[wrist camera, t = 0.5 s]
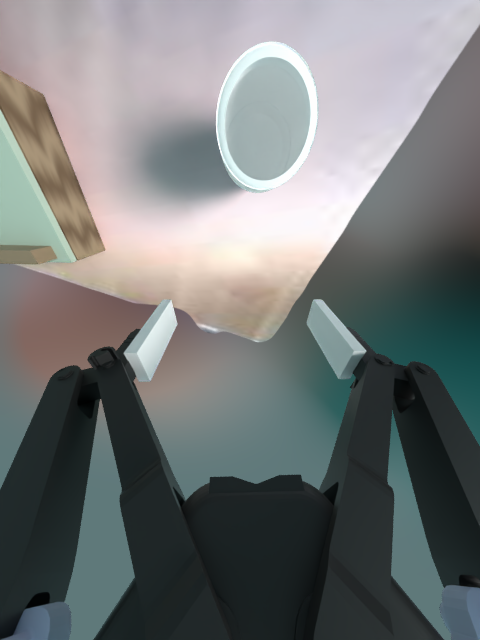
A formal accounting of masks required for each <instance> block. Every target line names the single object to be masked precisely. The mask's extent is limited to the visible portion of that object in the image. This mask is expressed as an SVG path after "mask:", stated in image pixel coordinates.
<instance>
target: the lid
mask: <svg viewBox="0 0 480 640" xmlns="http://www.w3.org/2000/svg"><path fill="white" fill-rule="evenodd" d="M75 261H77V260H76V258H75V256H74V254H73V252H72V250H71V248H70V246H69V244H68V242H67V240H66V238H65V236H64V234H63V232H62V230H61V228H60V226H59V224H58V222H57V220H56V218H55V216H54V214H53V212H52V210H51V208H50V206H49V205H48V203H47V201H46V199H45V197H44V195H43V193H42V191H41V189H40V187H39V185H38V183H37V181H36V179H35V177H34V175H33V173H32V171H31V169H30V167H29V165H28V163H27V161H26V159H25V157H24V155H23V153H22V151H21V149H20V147H19V145H18V143H17V141H16V139H15V137H14V135H13V133H12V131H11V129H10V127H9V125H8V123H7V121H6V120H5V118H4V116H3V114H2V112H1V110H0V264H41V263H44V262H66V263H72V262H75Z"/></svg>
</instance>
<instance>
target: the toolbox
mask: <svg viewBox="0 0 480 640" xmlns="http://www.w3.org/2000/svg"><path fill="white" fill-rule="evenodd" d="M0 110H1V112H2V114H3V116H4V118H5V120H6V121H7V123H8V125H9V127H10V129H11V131H12V133H13V135H14V137H15V139H16V141H17V143H18V145H19V147H20V149H21V151H22V153H23V155H24V157H25V159H26V161H27V163H28V165H29V167H30V169H31V171H32V173H33V175H34V177H35V179H36V181H37V183H38V185H39V187H40V189H41V191H42V193H43V195H44V197H45V199H46V201H47V203H48V205H49V206H50V208H51V210H52V212H53V214H54V216H55V218H56V220H57V222H58V224H59V226H60V228H61V230H62V232H63V234H64V236H65V238H66V240H67V242H68V244H69V246H70V248H71V250H72V252H73V254H74V256H75V258H76V260H80V259H83V258H86V257H88V256H91V255H94V254H97V253H99V252H102V251H105V248H104V245H103V243H102V240H101V238H100V235H99V233H98V230H97V228H96V225H95V223H94V220H93V218H92V215H91V213H90V210H89V208H88V205H87V203H86V200H85V198H84V195H83V193H82V190H81V188H80V185H79V183H78V180H77V178H76V175H75V173H74V170H73V167H72V165H71V162H70V160H69V157H68V155H67V152H66V150H65V147H64V145H63V142H62V140H61V137H60V135H59V132H58V130H57V127H56V125H55V122H54V120H53V117H52V115H51V112H50V110H49V107H48V105H47V102H46V100H45V97H44V95H43V94H41V93H40V92H38V91H36V90H34V89H33V88H31V87H29V86H27V85H25V84H24V83H22V82H20V81H18V80H17V79H15V78H13V77H11V76H9V75H8V74H6V73H4V72H2V71H1V70H0Z"/></svg>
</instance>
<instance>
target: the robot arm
mask: <svg viewBox="0 0 480 640" xmlns="http://www.w3.org/2000/svg"><path fill="white" fill-rule="evenodd" d="M307 325H308V327H309V329H310V330H311V332H312V334H313V335H314V337H315V339H316V341H317V342H318V344H319V346H320V347H321V349H322V351H323V352H324V354H325V356H326V358H327V360H328V361H329V363H330V365H331V367H332V368H333V370H334V372H335V373H336V375H337V377H338V378H339V379H350V377H351V375H352V374H354V375H355V377H356V379H355V380H354V382H353V384H352V385H351V387H350V388H351V389H352V390H351V393H350V396H349V400H348V403H347V406H346V410H345V413H344V417H343V420H342V423H341V427H340V430H339V433H338V437H337V440H336V443H335V447H334V450H333V454H332V457H331V460H330V464H329V467H328V470H327V473H326V476H325V478H324V480H323V482H322V484H321V486H320V489H319V490H318V489H316V488H315V487H313V486H312V485H310V484H308V483H306V482H304V481H302V478H301V475H279V476H276V477H274V478H271V479H268V480H266V481H264V482H261V483H259V484H254V483H251V482H247V481H244V480H242V479H239V478H235V477H210V483H208V484H205V485H204V486H202V487H200V488H199V489H198V490H196V491H195V492H194V493H193V494H192V495H191V496H190V497H189V498H188V499H187V500H185V498H184V495H183V493H182V491H181V489H180V487H179V485H178V483H177V481H176V479H175V477H174V474H173V472H172V470H171V467H170V465H169V463H168V460H167V458H166V456H165V453H164V451H163V449H162V446H161V444H160V442H159V439H158V437H157V435H156V433H155V430H154V428H153V426H152V423H151V421H150V419H149V417H148V414H147V412H146V409H145V407H144V405H143V403H142V400H141V398H140V395H139V393H138V391H137V388H136V386H135V384H134V382H133V381H134V379H135V377H137V379H138V381H140V382H142V381H151V379H152V376H153V375H154V372H155V370H156V368H157V366H158V364H159V362H160V359H161V358H162V355H163V353H164V351H165V349H166V347H167V345H168V343H169V341H170V339H171V336H172V334H173V332H174V330H175V328H176V326H177V321H176V317H175V313H174V309H173V305H172V301H171V300H162V302H161V303H160V304H159V306H158V307H157V308H156V310H155V311H154V313H153V314H152V315H151V316H150V318H149V319H148V321H147V322H146V323H145V325H144V326H143V327H142V329H136V330H134V331H133V332H132V333H130V335H129V336H128V337H127V339H126V340H125V341H124V343H122V345H121V346H120V347H119V348H118V350H117V351H115V349H114V348H113V347H103V348H100V349H98V350H96V351H94V352H93V353H91V354H90V356H89V357H88V362H89V363H90V364H91V366H92V367H93V368H89V369H85V370H81V369H80V368H79V367H78V366H74V365H73V366H68V367H65V368H63V369H61V370H59V371H57V372H56V373H55V374H54V375H53V376H52V377H51V378H50V380H49V382H48V385H47V387H46V389H45V391H44V393H43V396H42V398H41V400H40V402H39V405H38V407H37V409H36V411H35V414H34V416H33V418H32V420H31V423H30V425H29V427H28V429H27V431H26V434H25V436H24V438H23V441H22V443H21V445H20V447H19V449H18V451H17V454H16V456H15V458H14V460H13V463H12V465H11V467H10V469H9V472H8V474H7V476H6V478H5V481H4V483H3V485H2V487H1V489H0V640H69V636H70V633H71V611H70V608H69V605H67V604H66V603H65V602H64V601H65V598H66V594H67V590H68V586H69V582H70V579H71V575H72V572H73V567H74V562H75V556H76V551H77V545H78V539H79V532H80V526H81V519H82V513H83V505H84V500H85V493H86V486H87V480H88V473H89V467H90V459H91V453H92V447H93V440H94V434H95V427H96V421H97V414H98V408H99V401H100V399H101V400H102V404H103V408H104V412H105V417H106V421H107V426H108V430H109V434H110V438H111V443H112V447H113V451H114V456H115V460H116V464H117V469H118V473H119V477H120V482H121V487H122V493H121V495H120V507H121V512H122V517H123V522H124V527H125V531H126V536H127V541H128V545H129V550H130V555H131V559H132V564H133V569H134V574H135V578H134V579H133V581H132V582H131V584H130V585H129V587H128V588H127V590H126V591H125V593H124V594H123V596H122V597H121V599H120V601H119V602H118V604H117V605H116V606H115V608H114V609H113V611H112V612H111V614H110V616H109V617H108V618H107V620H106V622H105V623H104V624H103V626H102V628H101V629H100V631H99V632H98V634H97V635H96V637H95V638H94V640H444V639H443V638H442V637H441V636H440V634H439V633H438V632H437V631H436V629H435V628H434V627H433V626H432V625H431V623H430V622H429V621H428V620H427V619H426V617H425V616H424V615H423V614H422V612H421V611H420V610H419V609H418V608H417V606H416V605H415V604H414V603H413V602H412V600H411V599H410V598H409V597H408V596H407V594H406V593H405V592H404V591H403V589H402V588H401V587H400V586H399V585H398V583H397V582H396V581H395V580H394V579H393V577H392V576H391V559H392V537H393V515H394V493H393V489H392V488H391V487H390V486H389V485H388V482H387V473H388V459H389V446H390V433H391V419H392V410H393V414H394V418H395V421H396V425H397V429H398V433H399V437H400V440H401V444H402V448H403V452H404V456H405V459H406V463H407V467H408V471H409V474H410V478H411V482H412V486H413V490H414V493H415V497H416V501H417V504H418V509H419V512H420V516H421V520H422V524H423V527H424V531H425V535H426V538H427V542H428V545H429V548H430V551H431V555H432V558H433V561H434V563H435V566H436V568H437V571H438V574H439V576H440V579H441V582H442V584H443V586H444V589H443V592H442V603H441V604H440V607H439V608H440V613H441V617H442V619H443V621H444V624H445V626H446V627H447V628H448V630H449V632H450V633H451V640H480V446H479V444H478V443H477V441H476V439H475V437H474V436H473V434H472V432H471V431H470V429H469V427H468V426H467V424H466V422H465V420H464V419H463V417H462V415H461V413H460V412H459V410H458V408H457V407H456V405H455V403H454V401H453V400H452V398H451V396H450V395H449V393H448V391H447V389H446V388H445V386H444V384H443V383H442V381H441V379H440V378H439V376H438V374H437V373H436V372H435V370H433V369H432V368H431V367H429V366H428V365H426V364H423V363H420V362H415V361H414V362H410V363H409V364H408V365H407V366H403V365H398V364H394V363H393V361H392V360H391V359H389V358H388V357H386V356H384V355H381V354H376V353H375V352H374V351H373V350H372V349H371V348H370V346H369V345H368V344H367V343H366V342H365V341H363V339H362V338H361V337H360V335H359V334H358V333H357V332H356V331H354V330H353V329H351V328H349V327H347V328H346V327H345V326H344V325H343V324H342V322H341V321H340V320H339V319H338V318H337V317H336V316H335V314H333V312H332V311H331V310H330V309H329V308H328V306H327V305H326V304H325V303H324V302H323V301H322V300H313V303H312V306H311V310H310V313H309V316H308V320H307Z"/></svg>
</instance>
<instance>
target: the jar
mask: <svg viewBox="0 0 480 640" xmlns="http://www.w3.org/2000/svg"><path fill="white" fill-rule="evenodd" d="M317 122H318V96H317V90H316V85H315V81H314V78H313V76H312V73H311V71H310V69H309V67H308V65H307V63H306V62H305V60H304V59H303V58H302V57H301V55H300V54H299V53H298V52H297V51H295V50H294V49H293V48H291V47H290V46H288V45H286V44H283V43H279V42H265V43H261V44H258V45H256V46H254V47H252V48H250V49H249V50H247V51H246V52H245V53H244V54H243V55H241V56H240V57H239V59H238V60H237V61H236V62H235V63H234V65H233V66H232V68H231V69H230V71H229V73H228V75H227V77H226V79H225V81H224V83H223V86H222V89H221V92H220V95H219V100H218V105H217V112H216V133H217V140H218V145H219V149H220V152H221V155H222V160H223V163H224V166H225V168H226V170H227V172H228V174H229V176H230V177H231V179H232V180H233V181H234V182H235V183H236V184H237V185H238V186H239V187H241V188H242V189H244V190H246V191H249V192H254V193H261V192H266V191H269V190H271V189H273V188H276V187H278V186H280V185H282V184H284V183H285V182H287V181H288V180H289V179H290V178H291V177H292V176H293V175H294V174H295V173H296V172H297V171H298V170H299V169H300V167H301V166H302V164H303V163H304V161H305V159H306V158H307V156H308V154H309V152H310V149H311V147H312V144H313V141H314V137H315V133H316V129H317Z"/></svg>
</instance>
